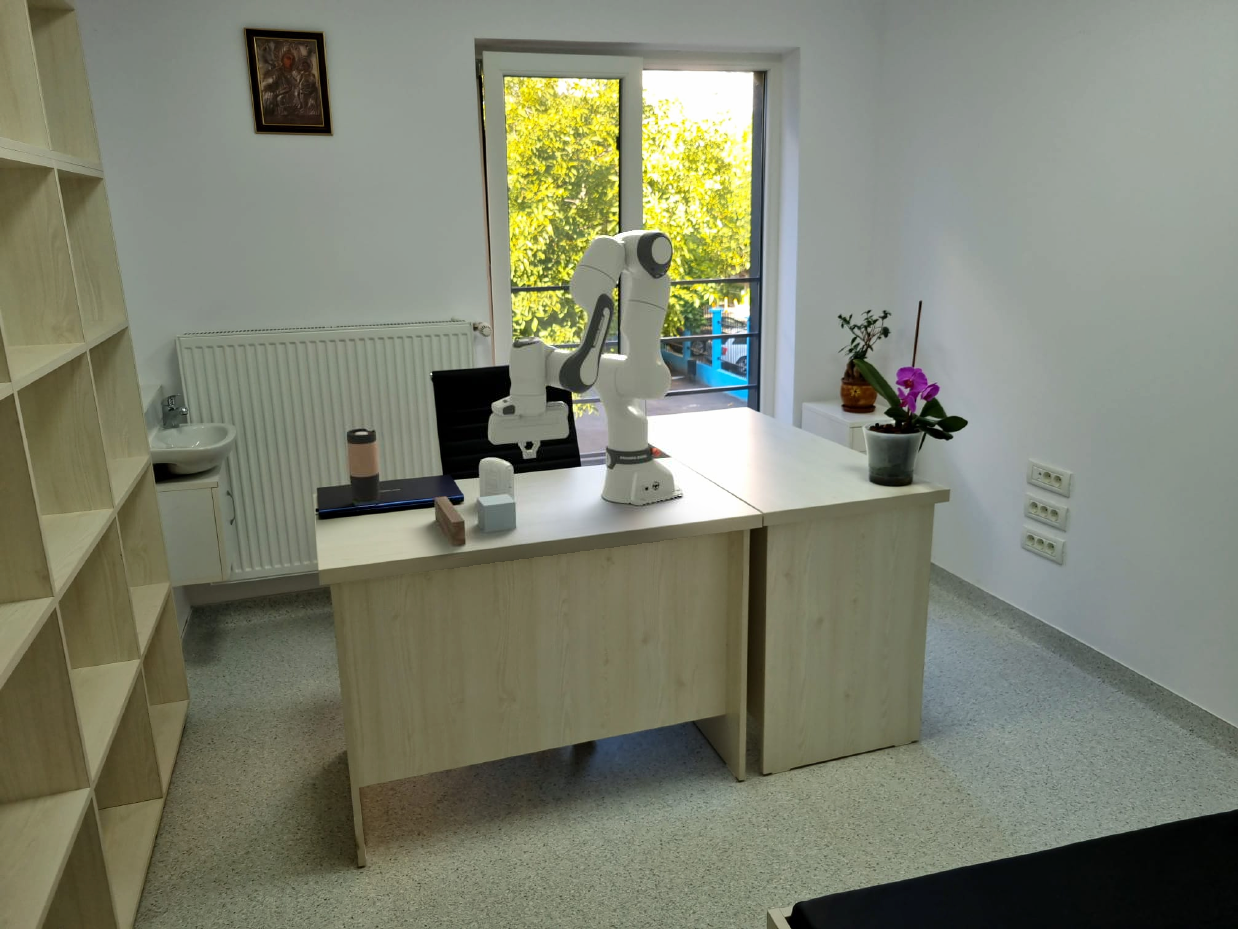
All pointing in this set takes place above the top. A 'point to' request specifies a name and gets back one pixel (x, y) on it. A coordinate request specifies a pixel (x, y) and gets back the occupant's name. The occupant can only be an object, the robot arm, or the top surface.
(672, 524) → the top surface
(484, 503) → the slate block
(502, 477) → the photo printer
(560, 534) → the top surface
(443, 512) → the stop board
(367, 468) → the travel mug
